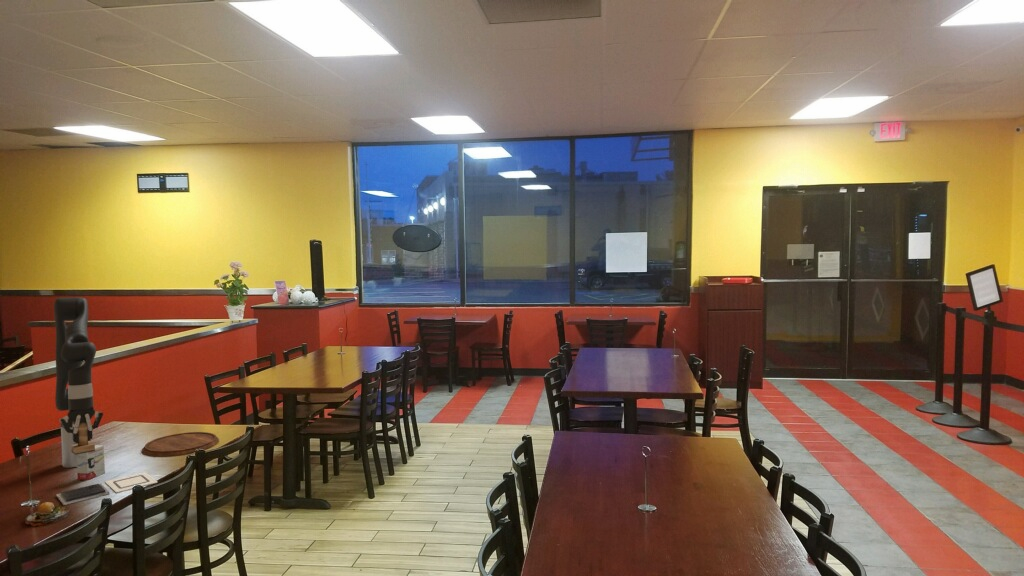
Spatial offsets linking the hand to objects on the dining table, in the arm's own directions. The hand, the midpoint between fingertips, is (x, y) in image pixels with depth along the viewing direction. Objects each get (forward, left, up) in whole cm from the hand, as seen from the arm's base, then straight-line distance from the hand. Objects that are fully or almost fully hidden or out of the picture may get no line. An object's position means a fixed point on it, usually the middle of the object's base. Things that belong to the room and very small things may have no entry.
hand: (82, 441), depth 222 cm
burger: (+15, -14, -21) cm, 29 cm away
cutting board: (-37, +45, -21) cm, 62 cm away
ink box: (-21, +6, -20) cm, 30 cm away
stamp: (0, 0, -4) cm, 4 cm away
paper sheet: (-1, +15, -20) cm, 25 cm away
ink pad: (0, -1, -20) cm, 20 cm away
